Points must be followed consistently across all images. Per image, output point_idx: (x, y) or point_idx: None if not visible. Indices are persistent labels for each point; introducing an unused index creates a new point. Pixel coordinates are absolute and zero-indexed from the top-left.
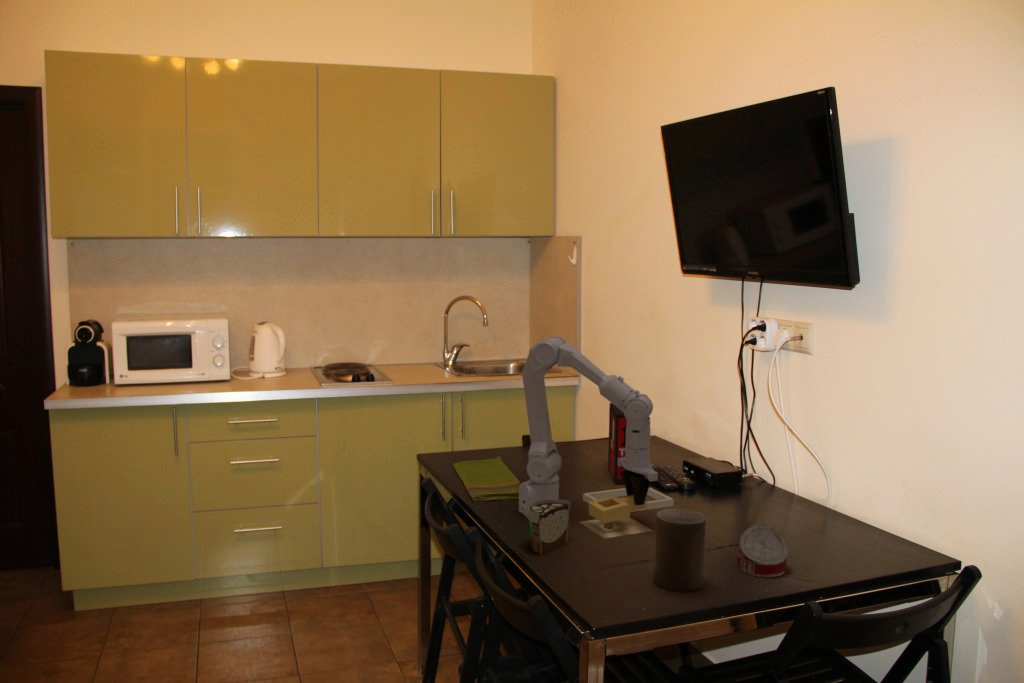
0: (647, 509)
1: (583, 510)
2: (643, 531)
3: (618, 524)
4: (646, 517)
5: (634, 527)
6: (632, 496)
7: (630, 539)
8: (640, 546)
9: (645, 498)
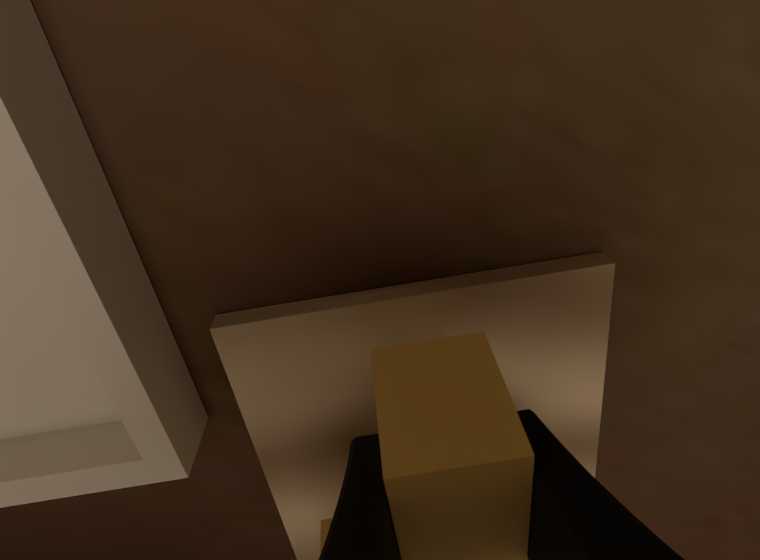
0: (41, 73)
1: (29, 503)
2: (594, 332)
3: None
4: (210, 141)
5: (498, 360)
6: (456, 557)
7: (612, 409)
8: (734, 394)
9: (520, 425)
